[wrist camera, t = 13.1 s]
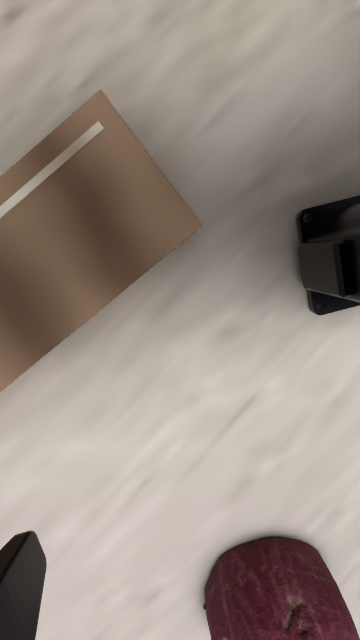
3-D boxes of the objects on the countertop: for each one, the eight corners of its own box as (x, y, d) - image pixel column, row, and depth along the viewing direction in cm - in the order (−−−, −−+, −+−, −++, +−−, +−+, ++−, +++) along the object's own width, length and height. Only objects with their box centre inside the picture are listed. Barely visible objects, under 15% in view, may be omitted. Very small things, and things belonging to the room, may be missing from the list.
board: (105, 107, 18) (100, 88, 16) (197, 228, 19) (202, 225, 17) (-161, 338, 19) (-199, 349, 17) (-53, 433, 21) (-76, 453, 18)
